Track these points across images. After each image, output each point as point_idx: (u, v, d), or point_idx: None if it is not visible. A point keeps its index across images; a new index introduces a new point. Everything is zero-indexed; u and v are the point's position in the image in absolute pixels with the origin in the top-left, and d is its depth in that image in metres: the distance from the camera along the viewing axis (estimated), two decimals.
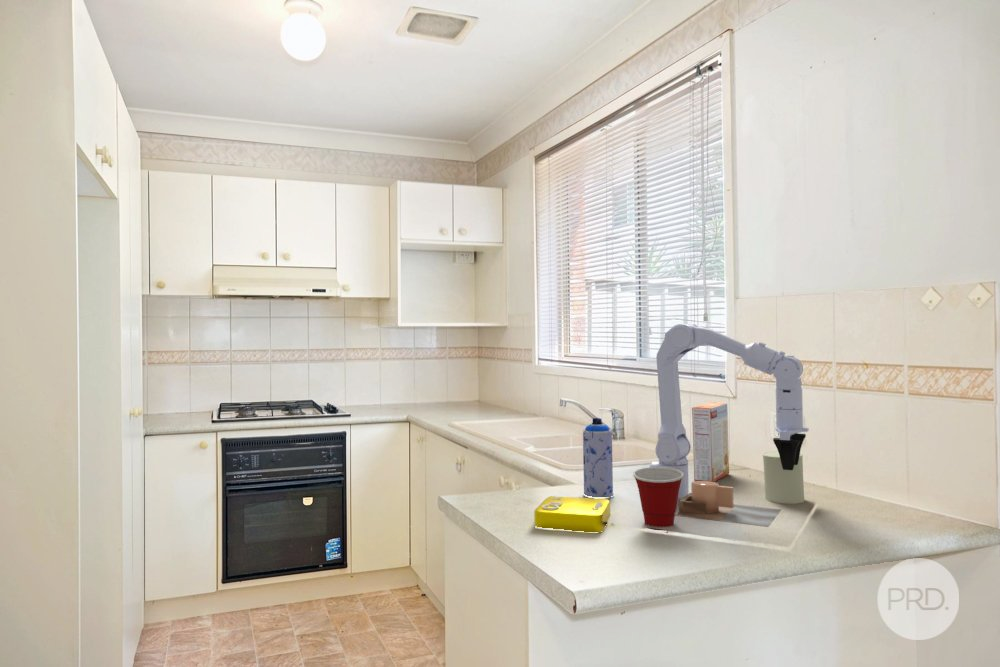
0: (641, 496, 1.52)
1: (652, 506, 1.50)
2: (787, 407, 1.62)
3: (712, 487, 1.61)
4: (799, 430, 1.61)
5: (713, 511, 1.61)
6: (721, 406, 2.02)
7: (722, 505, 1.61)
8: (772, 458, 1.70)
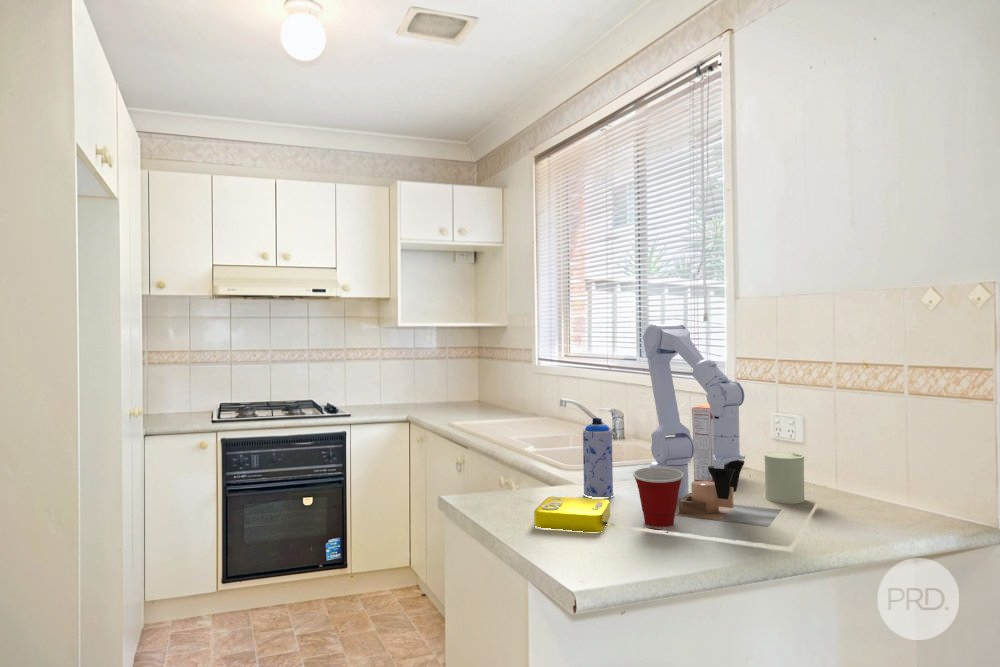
0: (641, 496, 1.52)
1: (652, 506, 1.50)
2: (716, 434, 1.60)
3: (712, 487, 1.61)
4: (735, 458, 1.58)
5: (713, 511, 1.61)
6: None
7: (722, 505, 1.61)
8: (773, 459, 1.70)
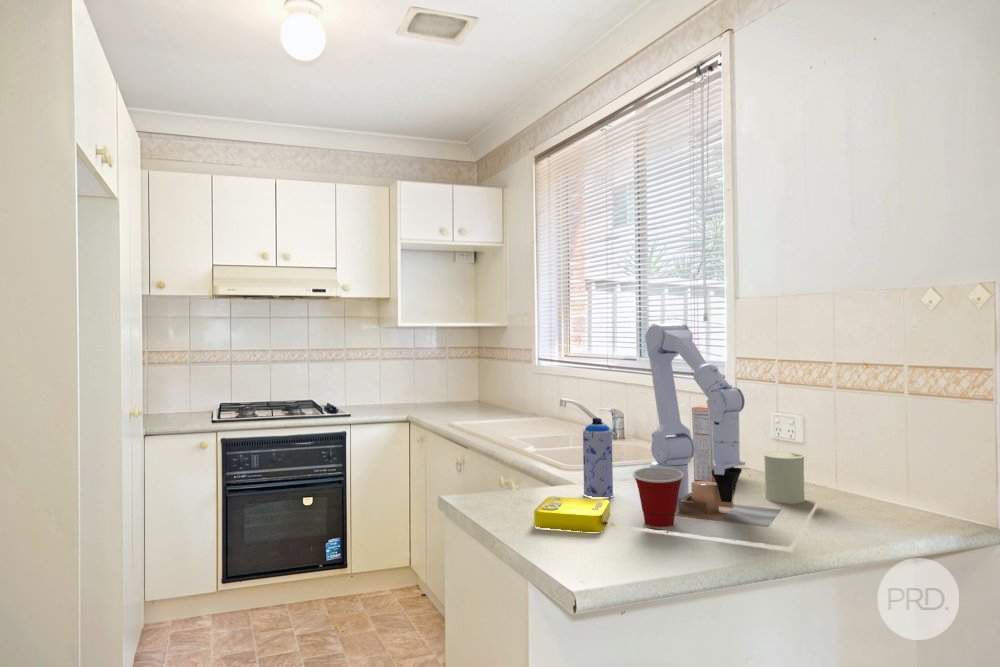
0: (641, 496, 1.52)
1: (652, 506, 1.50)
2: (716, 439, 1.60)
3: (712, 487, 1.61)
4: (735, 464, 1.58)
5: (713, 511, 1.61)
6: None
7: (722, 505, 1.61)
8: (773, 459, 1.70)
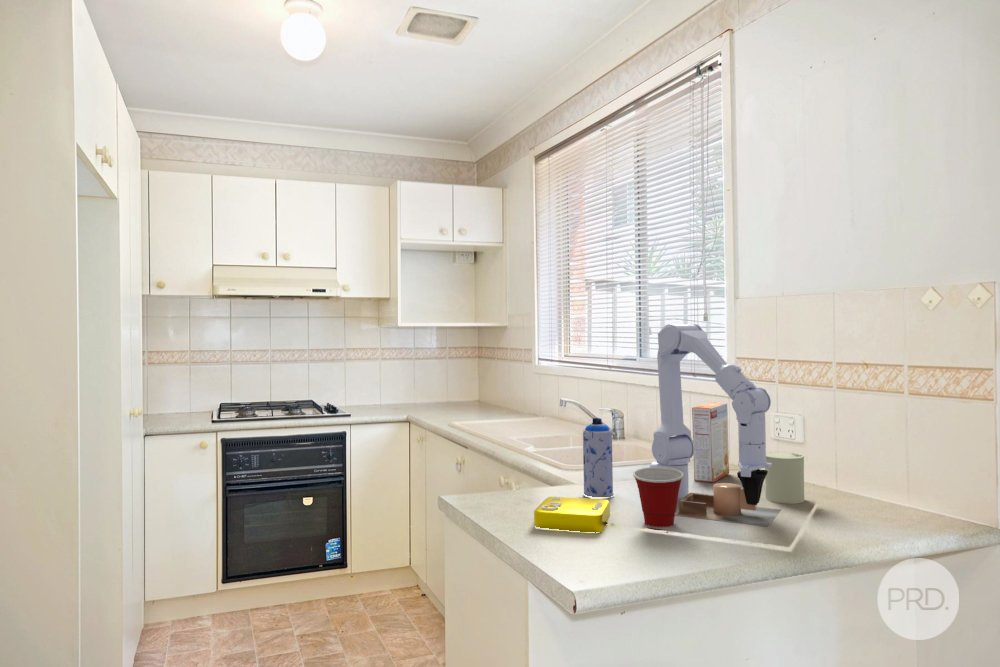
0: (641, 496, 1.52)
1: (652, 506, 1.50)
2: (744, 441, 1.57)
3: (735, 489, 1.59)
4: (761, 466, 1.55)
5: (736, 514, 1.59)
6: (721, 406, 2.02)
7: (745, 507, 1.59)
8: (773, 459, 1.70)
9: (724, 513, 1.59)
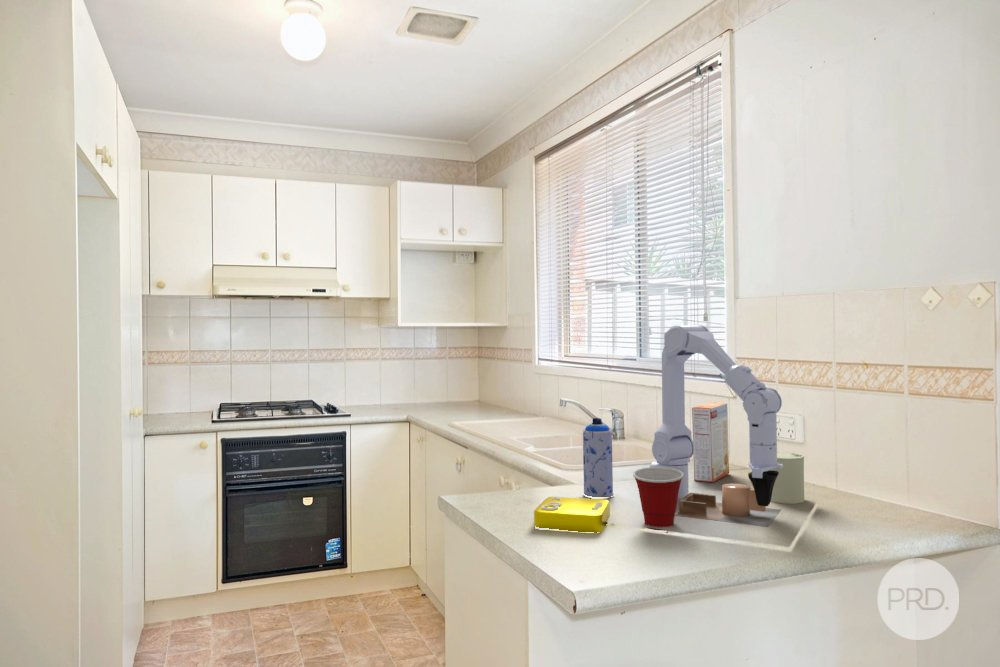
0: (641, 496, 1.52)
1: (652, 506, 1.50)
2: (755, 442, 1.56)
3: (744, 490, 1.58)
4: (773, 467, 1.54)
5: (745, 515, 1.58)
6: (721, 406, 2.02)
7: (754, 509, 1.58)
8: None
9: (733, 514, 1.58)
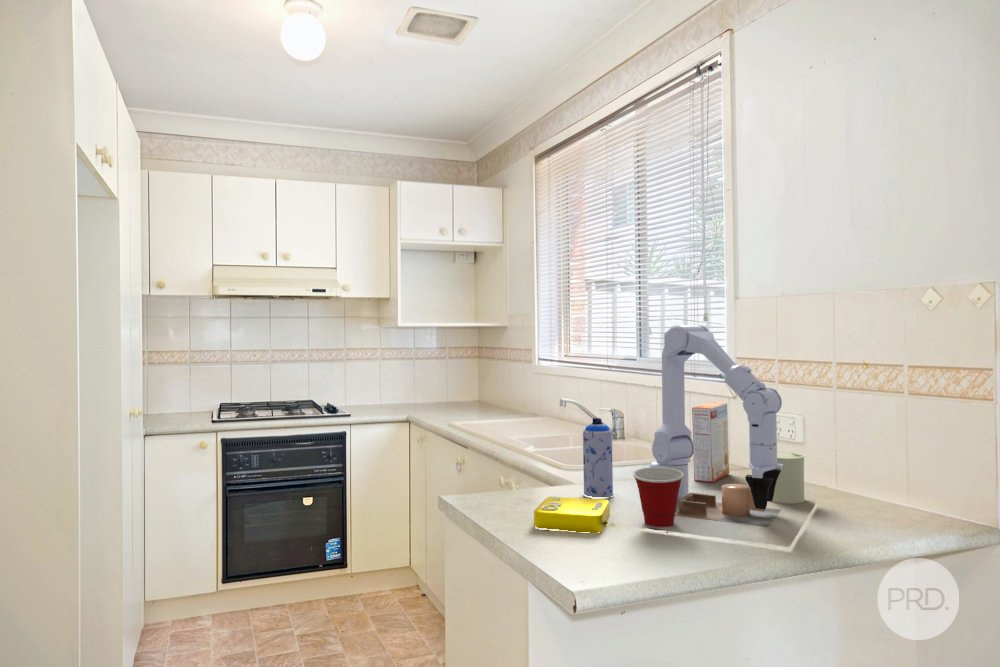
0: (641, 496, 1.52)
1: (652, 506, 1.50)
2: (755, 442, 1.56)
3: (744, 490, 1.58)
4: (773, 467, 1.54)
5: (745, 515, 1.58)
6: (721, 406, 2.02)
7: (754, 508, 1.58)
8: None
9: (733, 514, 1.58)
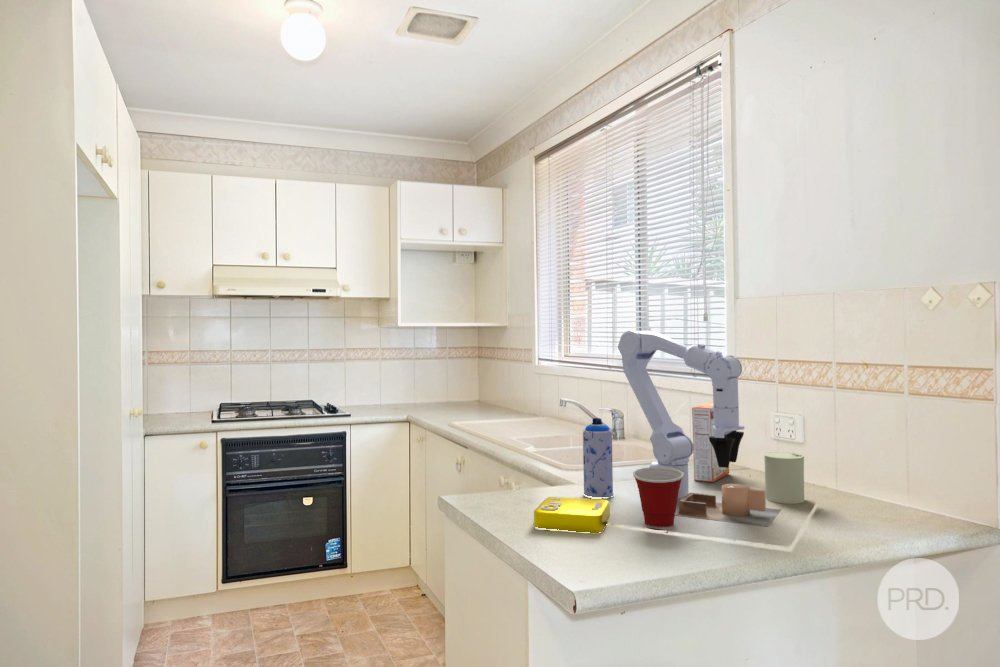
0: (641, 496, 1.52)
1: (652, 506, 1.50)
2: (720, 405, 1.66)
3: (744, 490, 1.58)
4: (734, 428, 1.65)
5: (745, 515, 1.58)
6: None
7: (754, 508, 1.58)
8: (773, 459, 1.70)
9: (733, 514, 1.58)
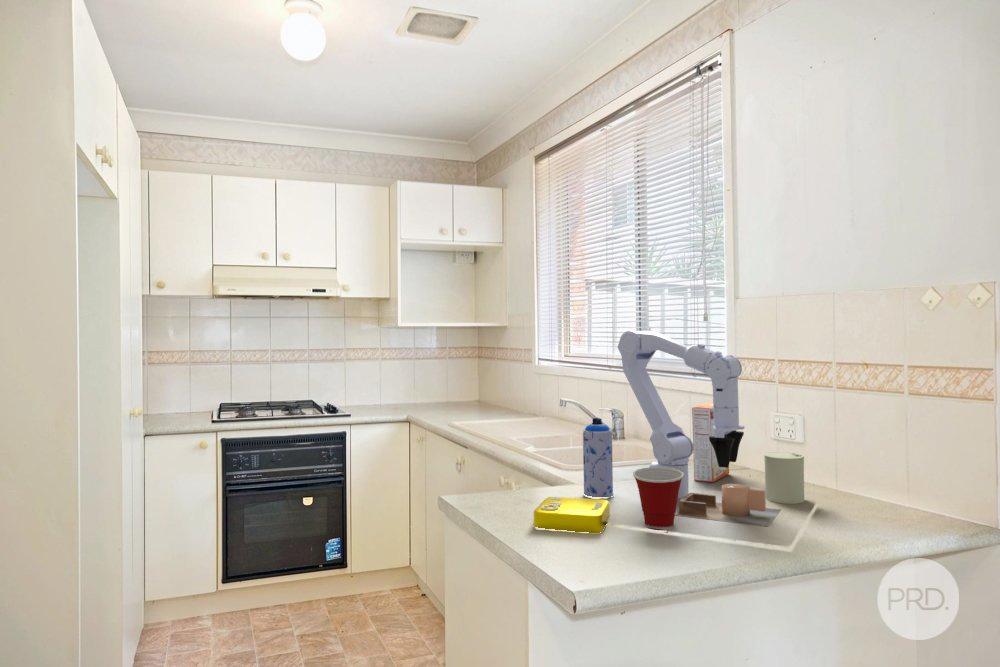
0: (641, 496, 1.52)
1: (652, 506, 1.50)
2: (720, 405, 1.66)
3: (744, 490, 1.58)
4: (734, 428, 1.65)
5: (745, 515, 1.58)
6: None
7: (754, 508, 1.58)
8: (773, 459, 1.70)
9: (733, 514, 1.58)
